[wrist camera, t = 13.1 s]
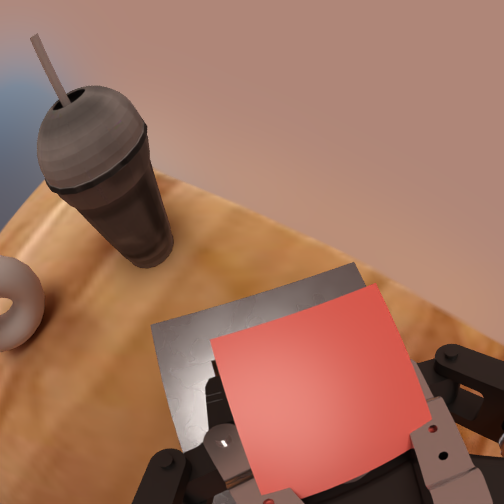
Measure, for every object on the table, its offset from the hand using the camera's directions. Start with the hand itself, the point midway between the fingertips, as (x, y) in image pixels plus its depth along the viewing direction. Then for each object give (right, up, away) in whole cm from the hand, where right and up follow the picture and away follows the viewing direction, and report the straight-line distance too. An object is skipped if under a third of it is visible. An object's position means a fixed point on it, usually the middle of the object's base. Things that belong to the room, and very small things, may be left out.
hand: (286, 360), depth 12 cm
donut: (-23, -3, +9) cm, 25 cm away
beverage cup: (-11, +5, +13) cm, 18 cm away
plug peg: (+1, -5, +4) cm, 6 cm away
